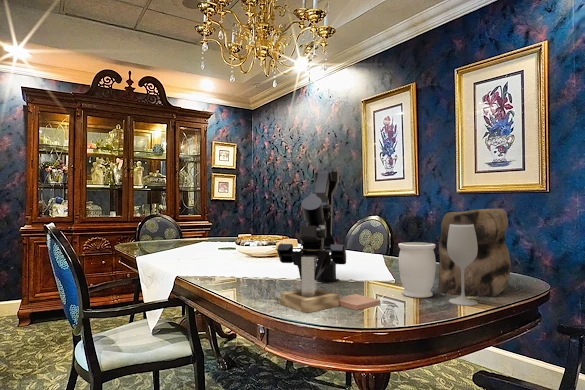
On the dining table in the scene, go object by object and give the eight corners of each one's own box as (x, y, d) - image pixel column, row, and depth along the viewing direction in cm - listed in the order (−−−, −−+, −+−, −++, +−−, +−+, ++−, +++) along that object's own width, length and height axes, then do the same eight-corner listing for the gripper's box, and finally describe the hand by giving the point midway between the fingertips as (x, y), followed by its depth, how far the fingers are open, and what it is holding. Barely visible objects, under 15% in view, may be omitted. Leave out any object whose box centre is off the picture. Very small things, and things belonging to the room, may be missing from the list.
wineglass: (482, 306, 102) (480, 225, 103) (450, 305, 104) (449, 225, 104) (474, 299, 110) (473, 223, 110) (445, 298, 111) (444, 223, 112)
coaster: (355, 298, 112) (355, 294, 112) (380, 304, 105) (380, 299, 105) (332, 303, 107) (332, 298, 107) (356, 310, 100) (356, 305, 100)
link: (304, 303, 107) (303, 255, 108) (316, 303, 107) (316, 255, 107) (301, 306, 104) (301, 256, 104) (314, 307, 103) (314, 257, 104)
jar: (417, 300, 109) (416, 246, 109) (391, 293, 118) (390, 243, 118) (444, 296, 114) (443, 244, 114) (417, 289, 123) (417, 241, 123)
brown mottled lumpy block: (508, 300, 108) (506, 209, 109) (432, 292, 119) (430, 209, 120) (514, 287, 125) (512, 208, 125) (446, 281, 136) (445, 208, 136)
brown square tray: (311, 298, 113) (311, 287, 113) (338, 305, 104) (338, 294, 104) (280, 304, 106) (280, 293, 106) (306, 313, 98) (306, 300, 98)
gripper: (278, 215, 112) (267, 259, 101) (344, 215, 108) (341, 261, 97) (285, 240, 119) (276, 284, 108) (347, 241, 115) (344, 287, 104)
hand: (308, 279), depth 104 cm, fingers closed on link, 3 cm apart
